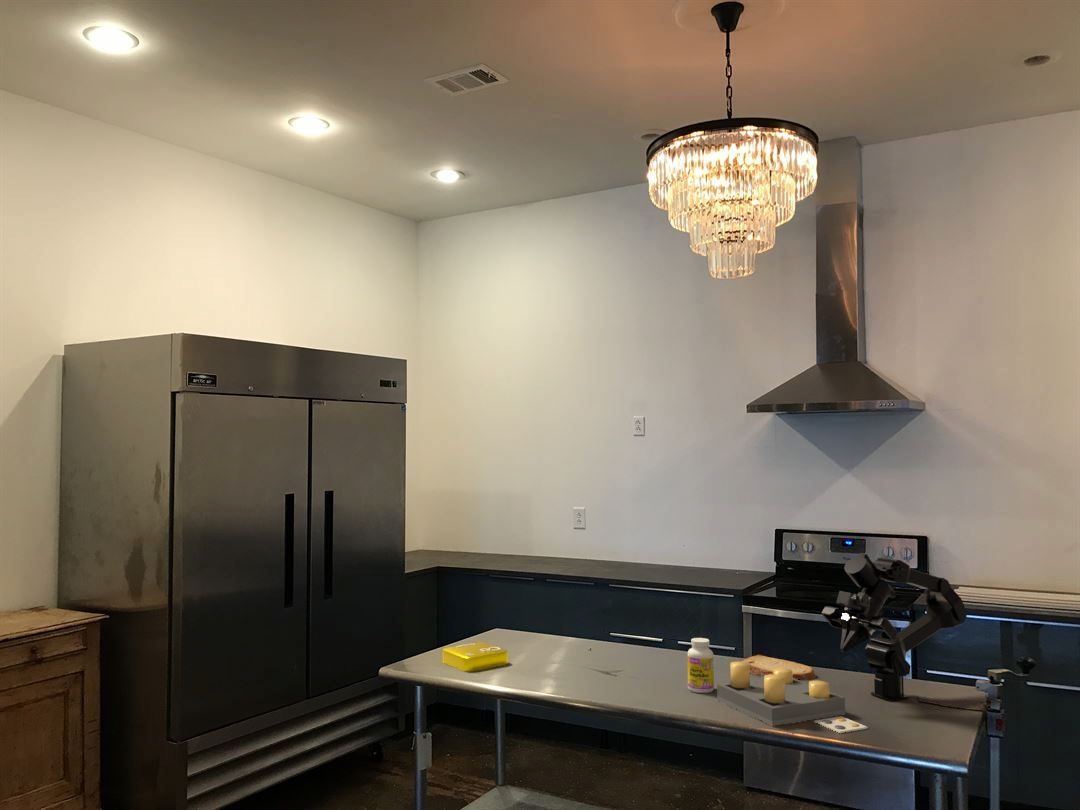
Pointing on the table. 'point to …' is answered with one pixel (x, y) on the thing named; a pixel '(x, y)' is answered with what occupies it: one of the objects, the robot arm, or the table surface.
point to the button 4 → (819, 689)
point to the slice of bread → (767, 665)
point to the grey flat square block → (789, 711)
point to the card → (841, 724)
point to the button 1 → (740, 674)
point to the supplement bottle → (700, 666)
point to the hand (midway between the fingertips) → (842, 650)
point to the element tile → (475, 656)
